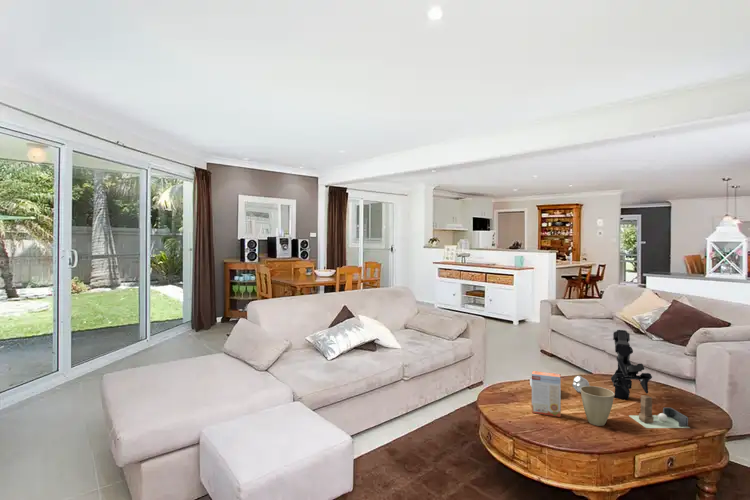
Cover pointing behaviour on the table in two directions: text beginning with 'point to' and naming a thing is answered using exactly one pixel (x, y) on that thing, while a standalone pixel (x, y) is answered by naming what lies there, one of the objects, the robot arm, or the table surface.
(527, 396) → the table surface
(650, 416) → the block
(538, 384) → the cracker box
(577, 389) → the shiny silver sphere
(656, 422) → the pitch
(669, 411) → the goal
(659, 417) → the ball
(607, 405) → the plant pot
